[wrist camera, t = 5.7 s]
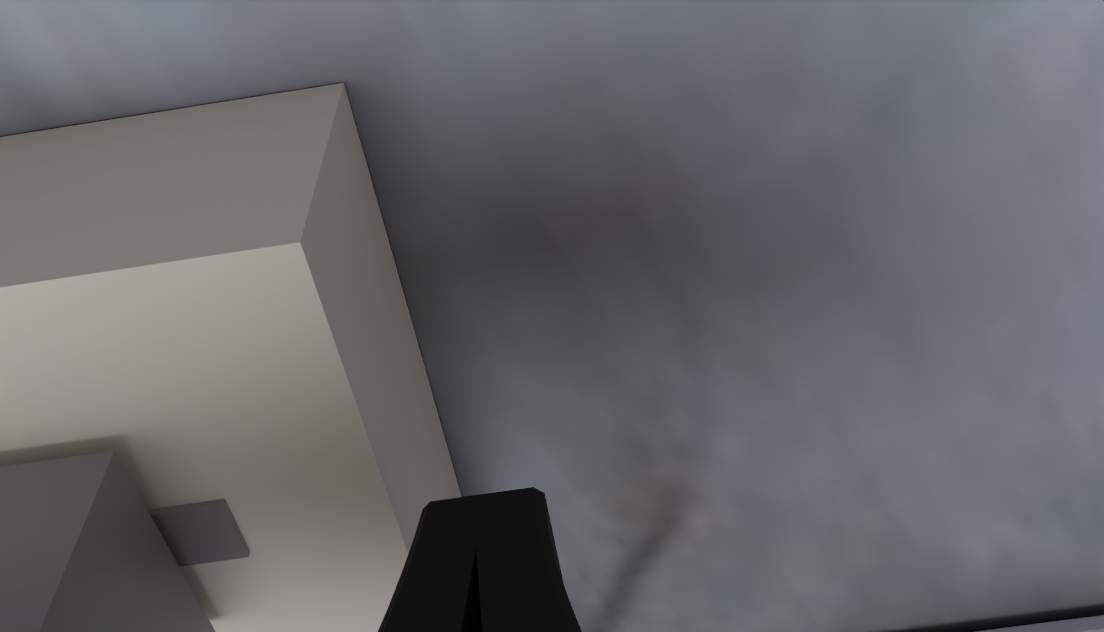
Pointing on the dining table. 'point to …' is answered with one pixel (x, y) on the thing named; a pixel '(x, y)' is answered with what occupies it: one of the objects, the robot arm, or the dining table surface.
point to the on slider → (86, 553)
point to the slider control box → (225, 348)
